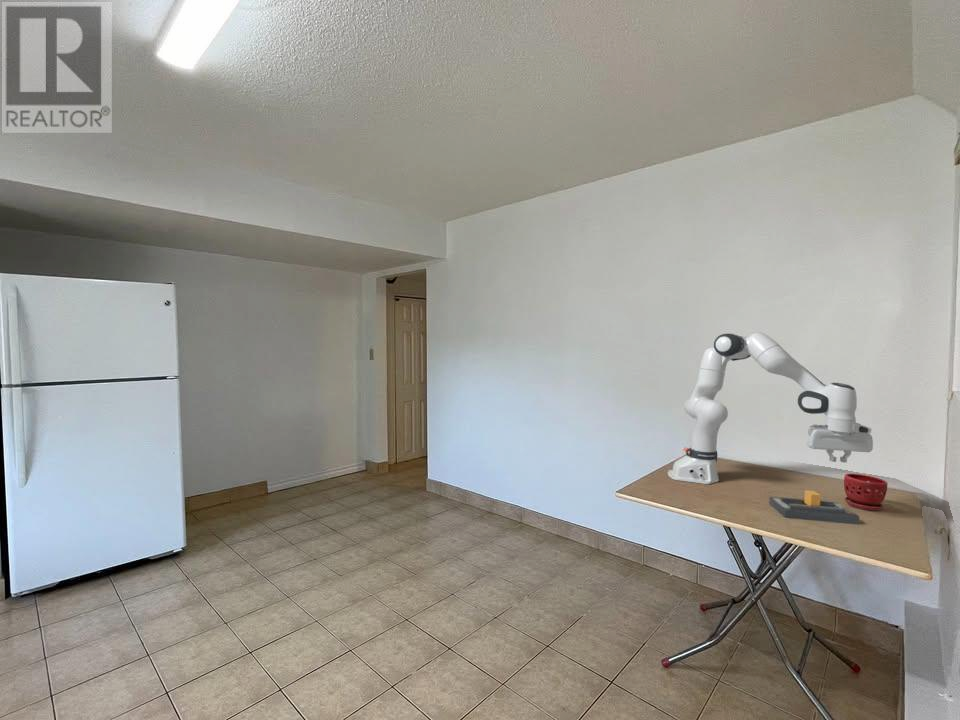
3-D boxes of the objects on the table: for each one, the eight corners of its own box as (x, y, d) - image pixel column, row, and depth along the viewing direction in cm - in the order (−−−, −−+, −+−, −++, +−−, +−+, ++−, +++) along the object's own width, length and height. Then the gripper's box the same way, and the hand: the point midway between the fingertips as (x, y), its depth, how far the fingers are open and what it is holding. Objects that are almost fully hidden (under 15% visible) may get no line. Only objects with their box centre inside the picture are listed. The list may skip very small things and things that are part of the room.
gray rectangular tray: (784, 517, 164) (785, 506, 164) (769, 503, 178) (769, 493, 178) (858, 524, 159) (859, 513, 159) (836, 509, 173) (837, 499, 172)
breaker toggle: (810, 507, 166) (811, 494, 166) (804, 502, 171) (804, 490, 171) (819, 508, 166) (820, 495, 165) (813, 503, 170) (813, 490, 170)
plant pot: (881, 515, 167) (882, 485, 167) (838, 504, 178) (840, 476, 177) (889, 508, 175) (891, 479, 174) (848, 498, 186) (849, 470, 185)
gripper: (813, 425, 164) (811, 461, 165) (876, 429, 160) (874, 466, 160) (804, 422, 170) (803, 457, 171) (865, 425, 166) (863, 461, 167)
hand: (838, 461), depth 166 cm, fingers open, 2 cm apart
